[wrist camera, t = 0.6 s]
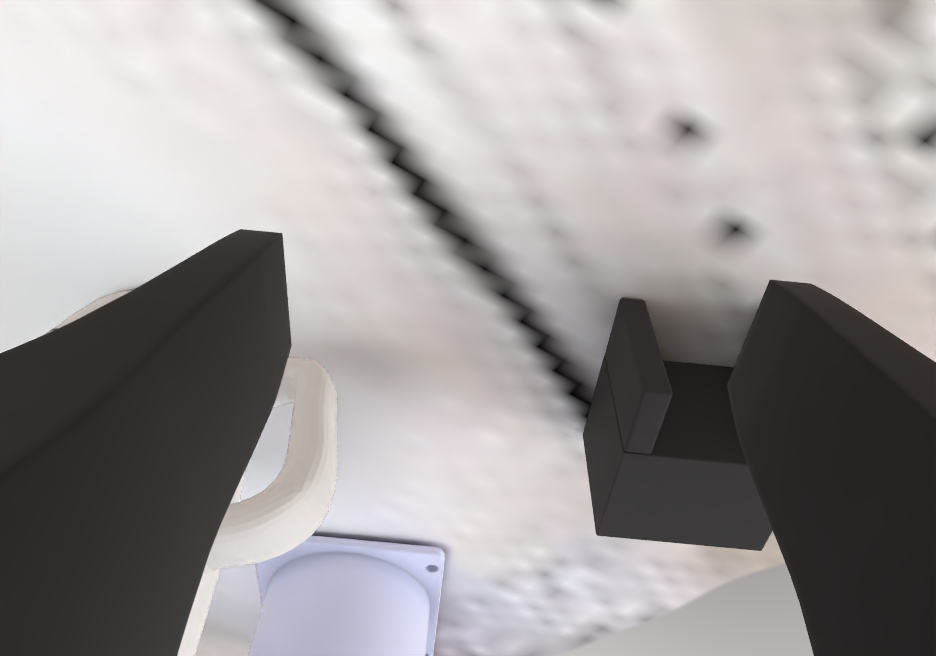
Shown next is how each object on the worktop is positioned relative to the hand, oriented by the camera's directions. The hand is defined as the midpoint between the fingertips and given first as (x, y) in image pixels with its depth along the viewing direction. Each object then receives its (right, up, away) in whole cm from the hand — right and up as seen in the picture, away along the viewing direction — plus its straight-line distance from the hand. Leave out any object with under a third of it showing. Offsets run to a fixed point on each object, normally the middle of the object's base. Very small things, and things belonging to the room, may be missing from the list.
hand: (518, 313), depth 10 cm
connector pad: (+6, -2, +13) cm, 14 cm away
